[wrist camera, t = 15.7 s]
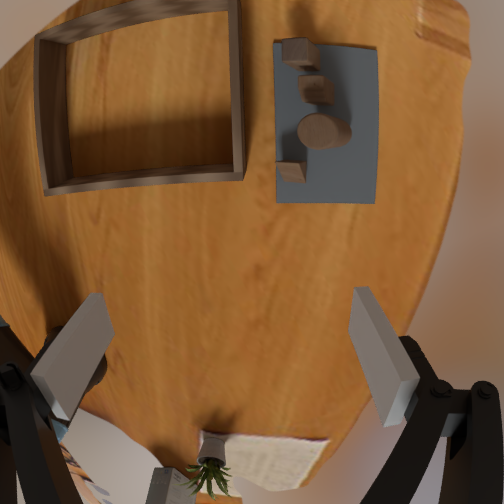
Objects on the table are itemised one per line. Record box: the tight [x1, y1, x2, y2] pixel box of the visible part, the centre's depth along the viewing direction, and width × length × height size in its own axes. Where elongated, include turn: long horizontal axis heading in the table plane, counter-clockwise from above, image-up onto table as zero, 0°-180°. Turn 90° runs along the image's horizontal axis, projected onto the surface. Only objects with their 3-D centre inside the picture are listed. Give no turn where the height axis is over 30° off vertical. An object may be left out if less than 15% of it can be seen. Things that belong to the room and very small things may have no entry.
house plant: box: [174, 438, 232, 500], centre depth 61 cm, size 14×14×16 cm
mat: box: [273, 43, 379, 204], centre depth 39 cm, size 14×22×1 cm, turn 2°
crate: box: [34, 0, 246, 196], centre depth 35 cm, size 28×24×7 cm
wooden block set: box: [275, 37, 352, 183], centre depth 34 cm, size 18×9×10 cm, turn 1°
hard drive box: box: [146, 467, 197, 504], centre depth 71 cm, size 16×8×20 cm, turn 23°
